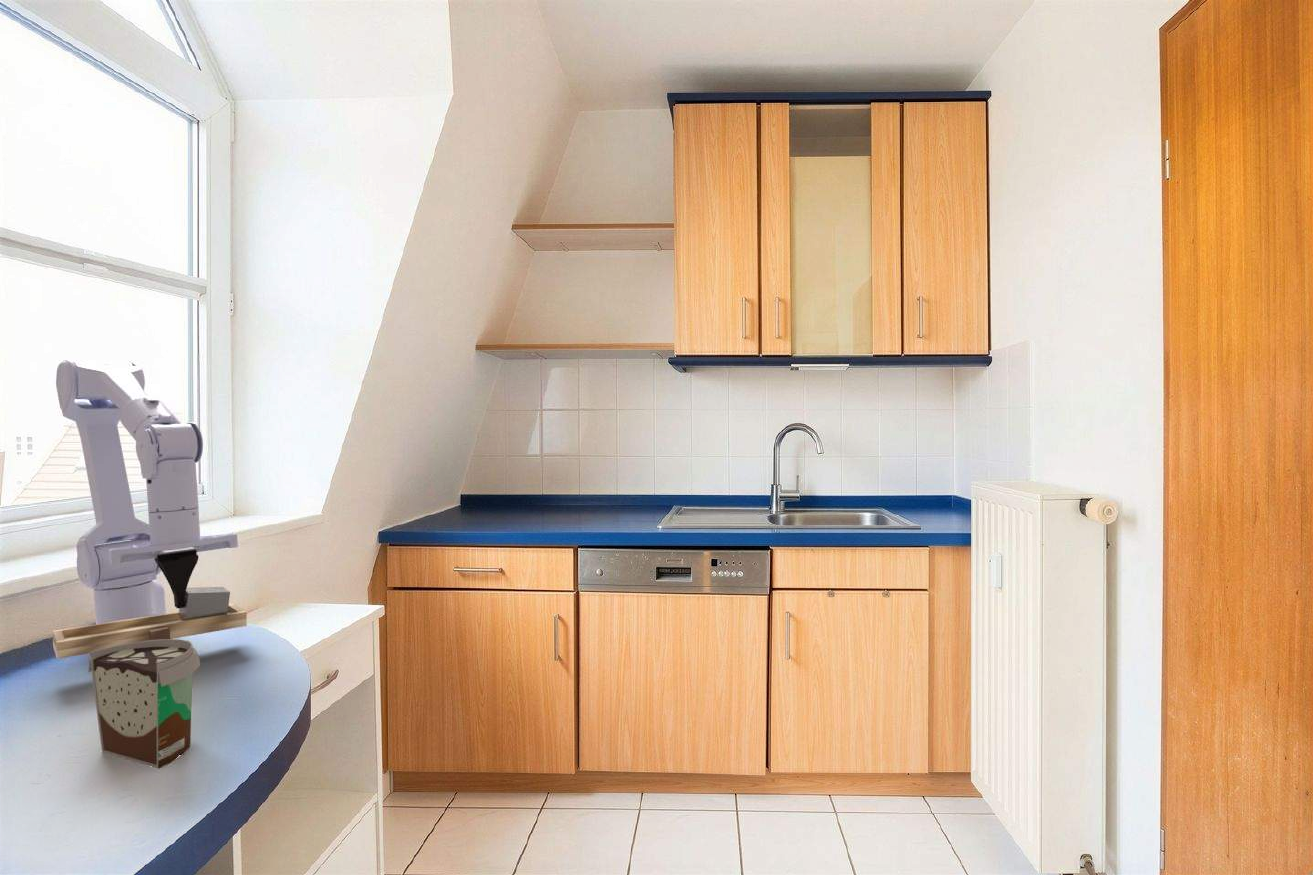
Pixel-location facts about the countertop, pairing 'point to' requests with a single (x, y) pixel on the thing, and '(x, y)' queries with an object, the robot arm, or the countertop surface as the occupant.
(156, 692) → the food container
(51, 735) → the countertop surface
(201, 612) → the block
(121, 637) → the beam
